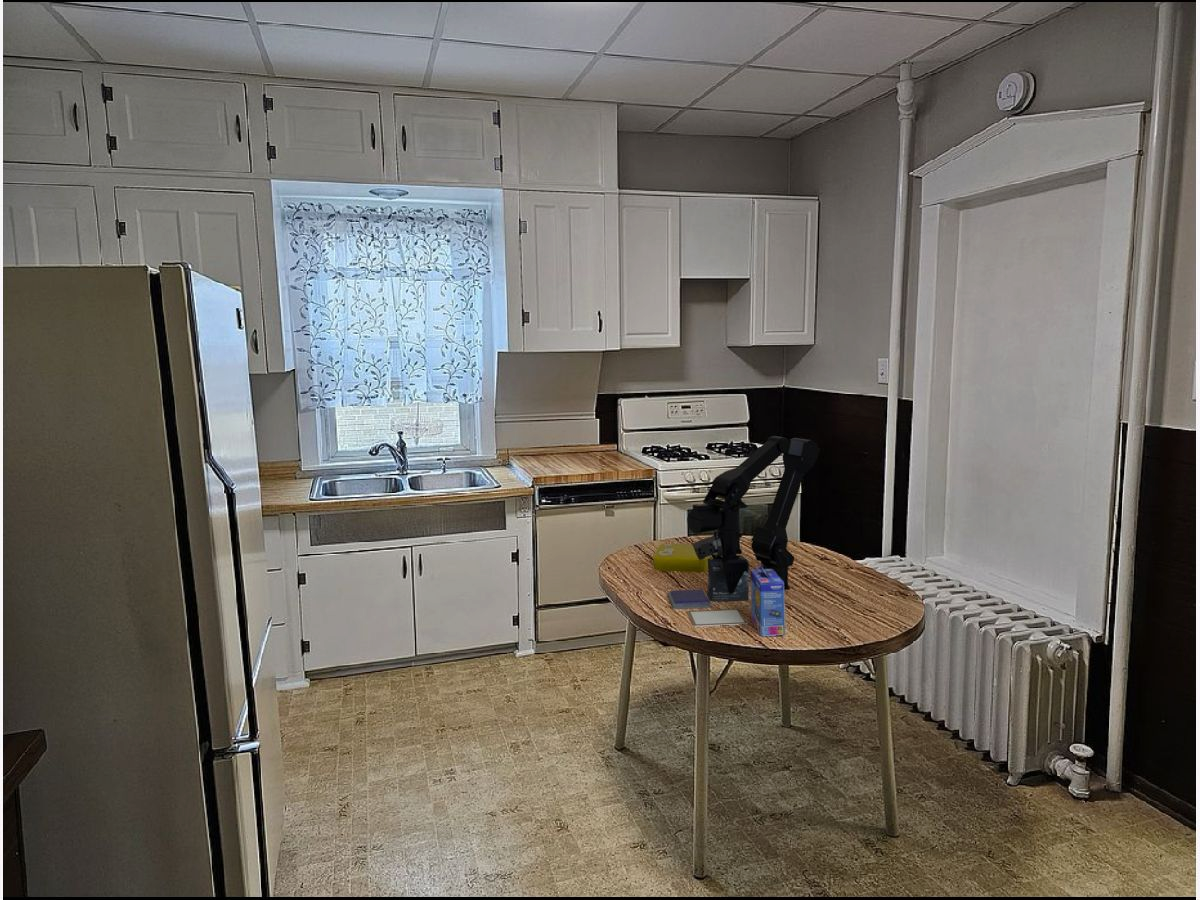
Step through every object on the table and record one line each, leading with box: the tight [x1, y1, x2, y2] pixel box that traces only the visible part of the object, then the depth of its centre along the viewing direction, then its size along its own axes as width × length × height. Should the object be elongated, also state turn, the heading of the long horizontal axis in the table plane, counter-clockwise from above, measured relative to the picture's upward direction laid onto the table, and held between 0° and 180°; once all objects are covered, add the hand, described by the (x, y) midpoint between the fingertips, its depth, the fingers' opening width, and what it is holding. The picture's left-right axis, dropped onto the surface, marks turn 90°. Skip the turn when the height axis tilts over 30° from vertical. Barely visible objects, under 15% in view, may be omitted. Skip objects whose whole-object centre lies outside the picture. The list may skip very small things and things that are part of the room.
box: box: [707, 558, 750, 602], centre depth 186 cm, size 9×6×10 cm, turn 90°
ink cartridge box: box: [750, 562, 786, 637], centre depth 165 cm, size 10×6×14 cm, turn 2°
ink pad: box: [667, 588, 712, 610], centre depth 184 cm, size 9×9×2 cm
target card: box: [687, 608, 748, 628], centre depth 173 cm, size 12×9×1 cm
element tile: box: [652, 543, 711, 574], centre depth 215 cm, size 15×15×5 cm
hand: (728, 588), depth 186 cm, fingers open, 6 cm apart
